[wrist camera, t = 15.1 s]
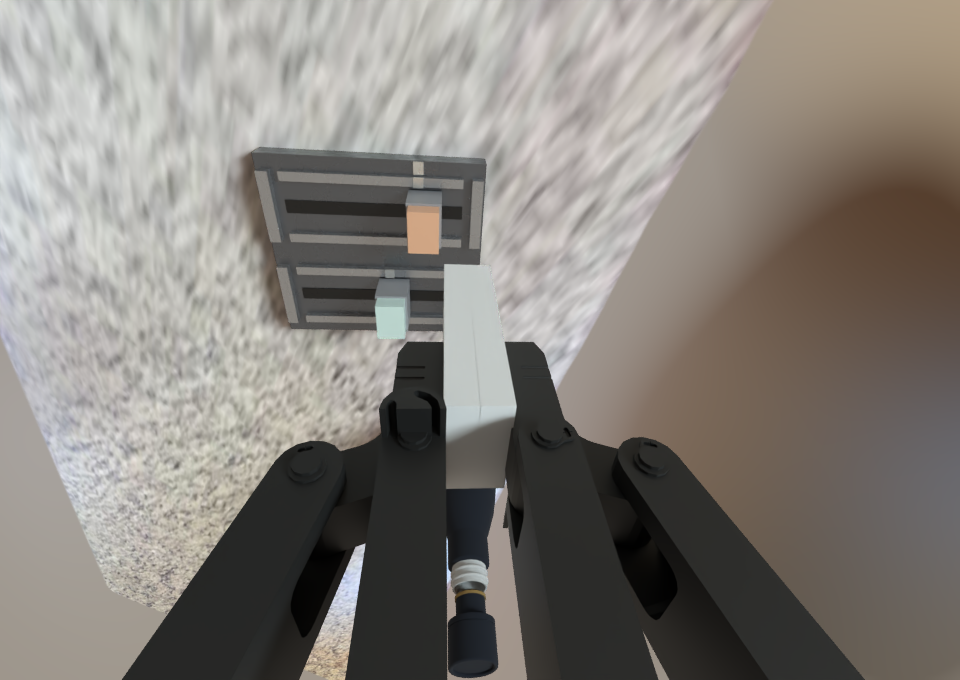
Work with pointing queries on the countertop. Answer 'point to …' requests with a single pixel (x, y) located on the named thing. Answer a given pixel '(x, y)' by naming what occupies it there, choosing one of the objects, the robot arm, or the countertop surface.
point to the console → (363, 231)
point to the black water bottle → (470, 582)
